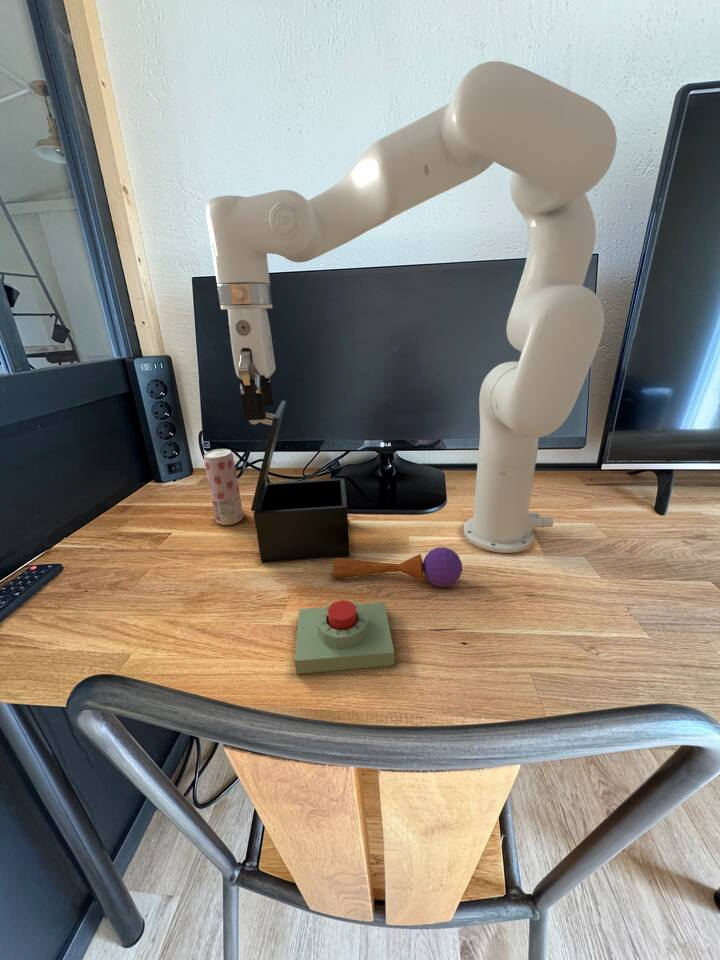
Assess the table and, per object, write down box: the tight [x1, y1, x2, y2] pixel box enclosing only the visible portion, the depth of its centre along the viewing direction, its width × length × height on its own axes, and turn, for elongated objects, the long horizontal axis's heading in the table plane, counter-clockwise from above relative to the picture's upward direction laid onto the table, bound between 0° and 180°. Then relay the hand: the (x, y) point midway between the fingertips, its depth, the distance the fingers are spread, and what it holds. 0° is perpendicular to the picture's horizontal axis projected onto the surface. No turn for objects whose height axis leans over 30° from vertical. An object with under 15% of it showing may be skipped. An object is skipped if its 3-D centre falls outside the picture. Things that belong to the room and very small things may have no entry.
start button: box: [328, 599, 357, 631], centre depth 51 cm, size 4×4×2 cm
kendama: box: [333, 546, 463, 588], centre depth 63 cm, size 6×6×20 cm
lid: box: [248, 400, 287, 512], centre depth 68 cm, size 16×13×5 cm
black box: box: [253, 478, 351, 564], centre depth 74 cm, size 16×13×10 cm
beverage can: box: [203, 448, 244, 526], centre depth 82 cm, size 6×6×15 cm
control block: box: [294, 600, 395, 675], centre depth 52 cm, size 12×9×4 cm
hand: (260, 412), depth 66 cm, fingers open, 9 cm apart
